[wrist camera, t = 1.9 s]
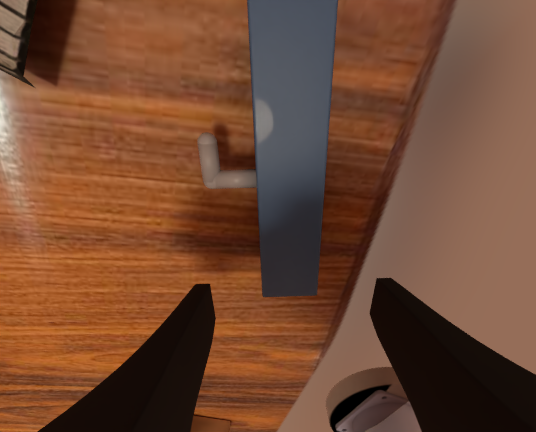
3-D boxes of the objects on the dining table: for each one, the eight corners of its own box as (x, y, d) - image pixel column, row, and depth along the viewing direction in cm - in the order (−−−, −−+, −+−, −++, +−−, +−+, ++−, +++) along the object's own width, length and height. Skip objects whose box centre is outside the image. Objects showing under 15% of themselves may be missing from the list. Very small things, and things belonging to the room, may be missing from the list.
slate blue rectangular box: (316, 25, 11) (339, -8, 7) (306, 255, 16) (317, 296, 13) (197, 29, 11) (167, -2, 7) (225, 258, 16) (215, 299, 13)
